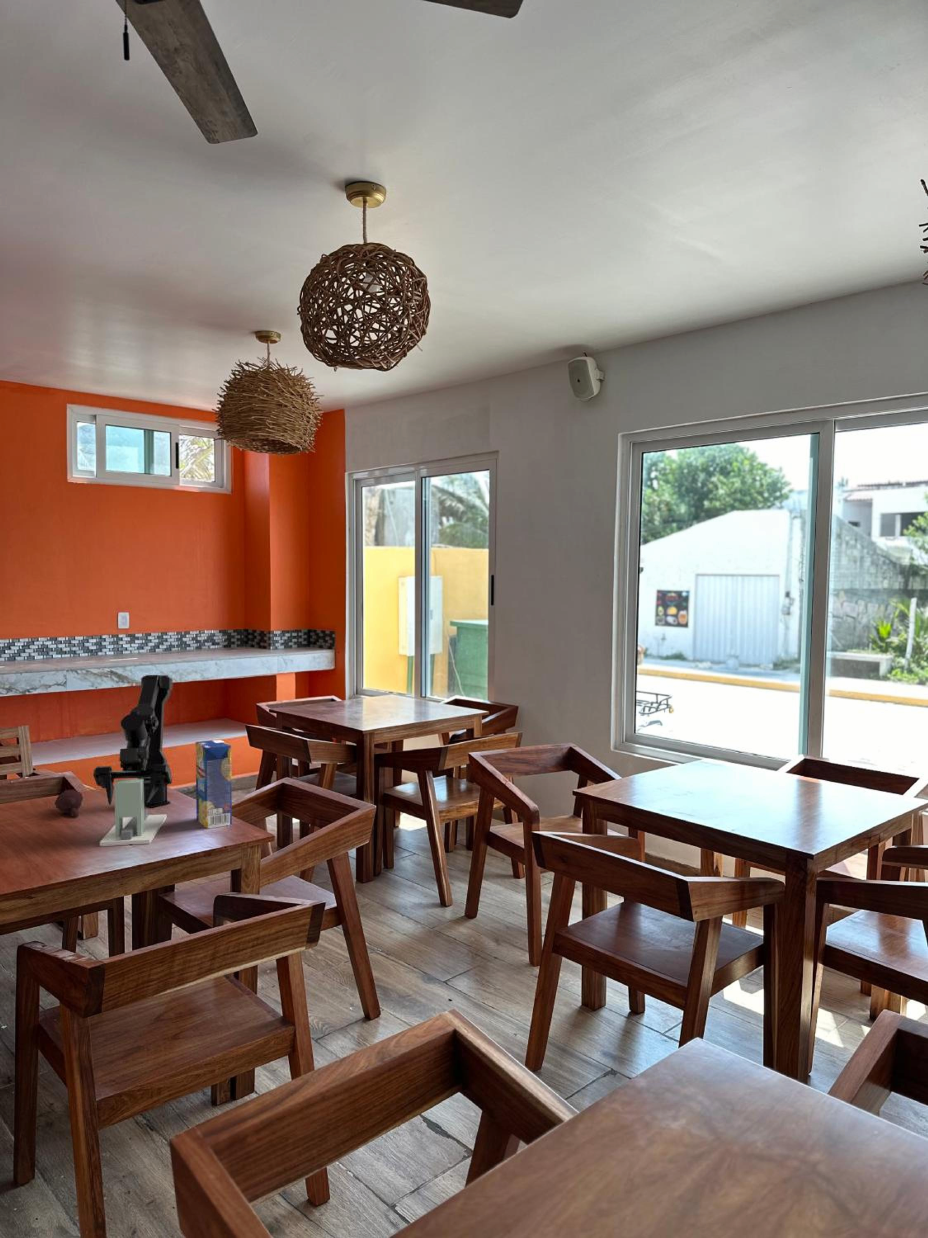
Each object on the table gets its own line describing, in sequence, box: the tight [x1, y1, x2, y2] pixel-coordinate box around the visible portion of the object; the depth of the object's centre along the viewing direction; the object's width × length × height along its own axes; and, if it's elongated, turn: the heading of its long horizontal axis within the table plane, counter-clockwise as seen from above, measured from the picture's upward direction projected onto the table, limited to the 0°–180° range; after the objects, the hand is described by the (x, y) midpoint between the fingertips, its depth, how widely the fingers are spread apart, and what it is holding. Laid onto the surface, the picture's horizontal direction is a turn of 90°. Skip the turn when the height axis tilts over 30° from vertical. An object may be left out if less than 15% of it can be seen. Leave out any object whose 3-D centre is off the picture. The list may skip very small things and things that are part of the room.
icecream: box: [54, 789, 84, 818], centre depth 240 cm, size 7×7×15 cm
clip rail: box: [99, 808, 167, 847], centre depth 221 cm, size 24×12×3 cm, turn 10°
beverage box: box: [195, 739, 233, 829], centre depth 230 cm, size 7×11×22 cm, turn 32°
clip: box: [113, 778, 145, 837], centre depth 215 cm, size 4×6×14 cm, turn 100°
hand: (128, 803), depth 214 cm, fingers open, 9 cm apart
